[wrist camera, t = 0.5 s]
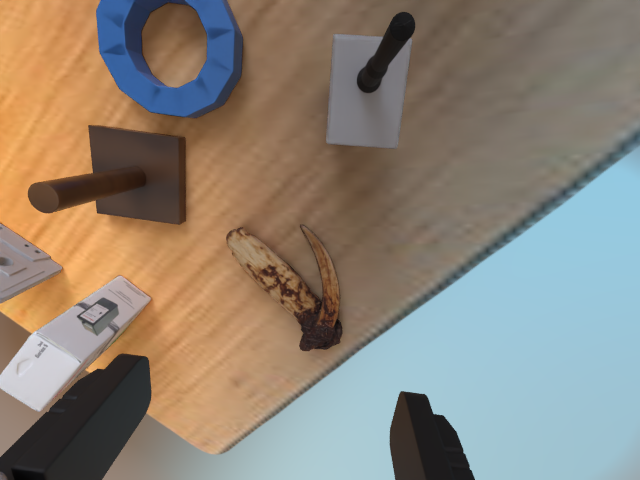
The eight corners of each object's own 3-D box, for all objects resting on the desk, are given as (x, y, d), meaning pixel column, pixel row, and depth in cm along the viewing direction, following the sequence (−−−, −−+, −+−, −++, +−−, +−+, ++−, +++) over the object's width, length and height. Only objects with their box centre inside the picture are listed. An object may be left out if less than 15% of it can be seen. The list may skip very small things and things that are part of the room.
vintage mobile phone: (330, 138, 32) (315, 154, 8) (334, 83, 31) (330, -85, 7) (367, 140, 32) (457, 164, 8) (373, 86, 30) (505, -75, 7)
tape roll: (111, -38, 28) (90, -54, 26) (245, -19, 28) (237, -33, 26) (121, 107, 32) (103, 105, 30) (239, 124, 32) (231, 123, 30)
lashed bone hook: (378, 304, 38) (278, 189, 34) (385, 326, 34) (271, 197, 30) (318, 345, 40) (216, 242, 36) (318, 372, 36) (201, 257, 32)
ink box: (117, 340, 41) (37, 417, 30) (84, 316, 40) (-11, 387, 29) (154, 298, 39) (81, 364, 28) (119, 272, 38) (31, 330, 27)
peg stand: (98, 125, 33) (-35, 121, 21) (185, 137, 33) (100, 140, 21) (106, 210, 36) (-8, 248, 24) (185, 221, 36) (111, 265, 24)
